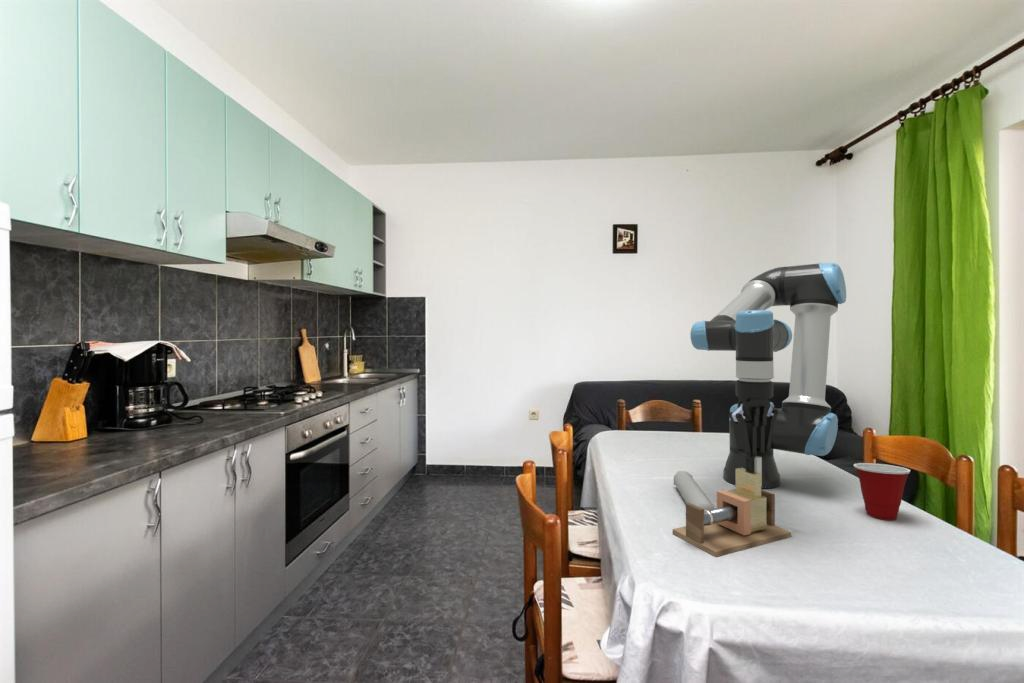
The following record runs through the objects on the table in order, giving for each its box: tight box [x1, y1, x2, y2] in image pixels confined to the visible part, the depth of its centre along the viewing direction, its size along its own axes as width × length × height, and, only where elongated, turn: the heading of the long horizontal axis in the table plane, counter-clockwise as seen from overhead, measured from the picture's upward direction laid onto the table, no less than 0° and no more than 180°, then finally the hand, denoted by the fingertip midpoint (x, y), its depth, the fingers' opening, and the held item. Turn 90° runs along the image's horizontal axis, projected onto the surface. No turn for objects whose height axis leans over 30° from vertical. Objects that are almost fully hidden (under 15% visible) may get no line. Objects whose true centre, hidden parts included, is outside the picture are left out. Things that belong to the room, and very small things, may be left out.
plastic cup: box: [853, 462, 911, 521], centre depth 115 cm, size 11×11×12 cm
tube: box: [673, 470, 715, 510], centre depth 124 cm, size 5×5×25 cm
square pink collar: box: [716, 489, 751, 535], centre depth 105 cm, size 2×7×7 cm, turn 24°
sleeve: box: [726, 468, 766, 532], centre depth 106 cm, size 5×7×12 cm
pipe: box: [704, 501, 769, 526], centre depth 105 cm, size 21×3×3 cm, turn 114°
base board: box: [672, 489, 792, 558], centre depth 105 cm, size 22×12×8 cm, turn 114°
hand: (753, 485), depth 107 cm, fingers closed
